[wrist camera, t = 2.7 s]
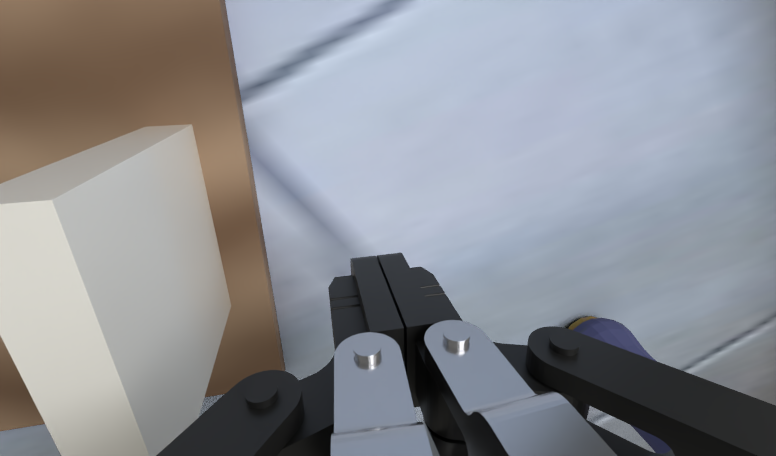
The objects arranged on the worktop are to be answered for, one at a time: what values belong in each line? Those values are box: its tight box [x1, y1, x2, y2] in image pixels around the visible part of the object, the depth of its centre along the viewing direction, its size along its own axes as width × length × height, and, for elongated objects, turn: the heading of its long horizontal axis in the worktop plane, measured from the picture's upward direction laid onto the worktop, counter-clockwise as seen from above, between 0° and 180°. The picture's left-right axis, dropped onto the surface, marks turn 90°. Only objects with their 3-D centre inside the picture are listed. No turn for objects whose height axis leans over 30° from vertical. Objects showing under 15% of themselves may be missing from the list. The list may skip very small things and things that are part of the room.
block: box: [0, 124, 231, 456], centre depth 12 cm, size 8×2×9 cm, turn 2°
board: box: [0, 0, 285, 431], centre depth 16 cm, size 18×16×1 cm
